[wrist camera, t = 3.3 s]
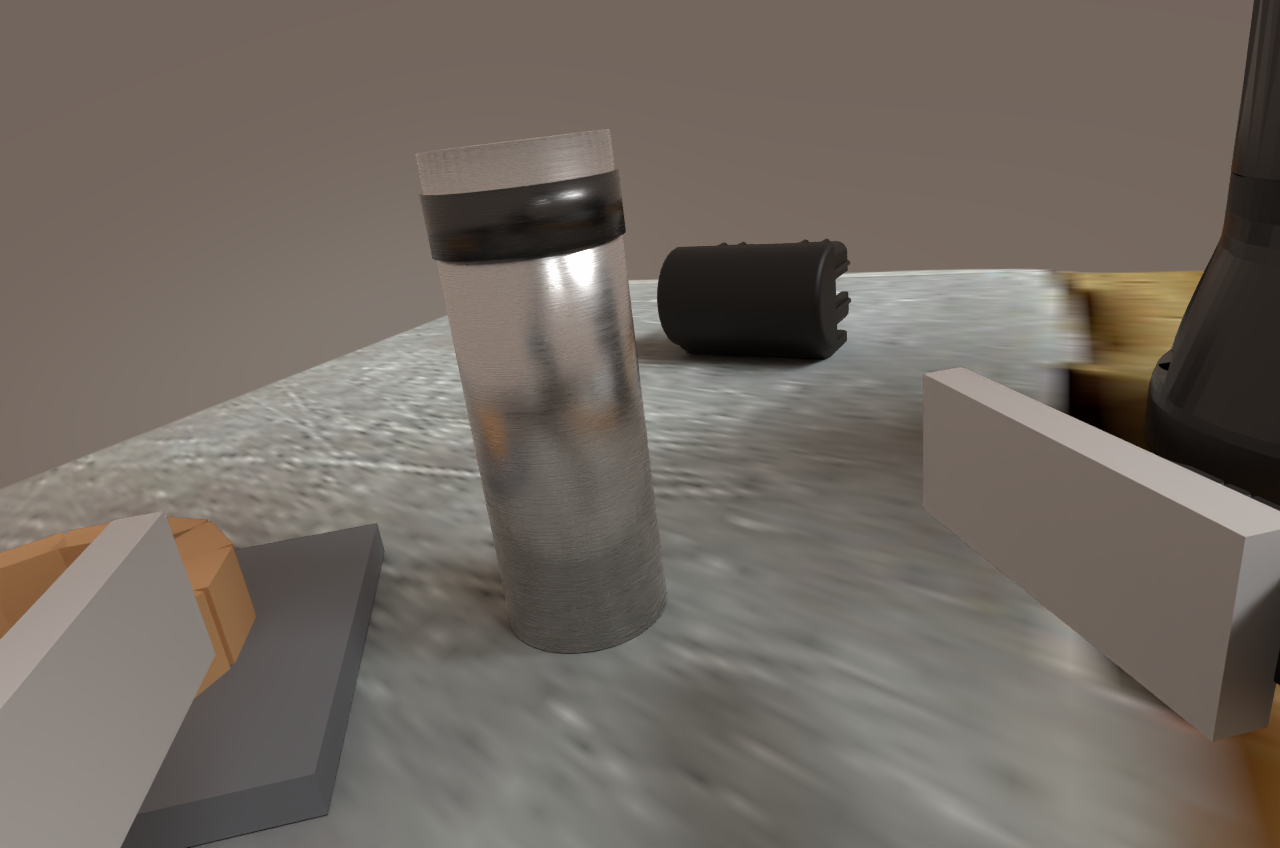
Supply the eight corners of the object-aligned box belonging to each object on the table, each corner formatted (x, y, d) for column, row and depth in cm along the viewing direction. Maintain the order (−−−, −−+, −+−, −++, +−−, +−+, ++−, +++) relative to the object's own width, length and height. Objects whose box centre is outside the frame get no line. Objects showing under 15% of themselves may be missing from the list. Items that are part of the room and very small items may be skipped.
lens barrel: (651, 550, 29) (598, 129, 24) (687, 633, 24) (630, 126, 19) (503, 579, 28) (417, 152, 23) (510, 671, 23) (402, 155, 18)
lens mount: (384, 551, 31) (361, 462, 30) (327, 814, 19) (284, 683, 17) (-79, 640, 29) (-126, 548, 27) (-482, 1004, 16) (-599, 869, 15)
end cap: (662, 367, 50) (650, 256, 47) (711, 336, 55) (702, 235, 53) (821, 375, 45) (816, 252, 42) (857, 340, 50) (854, 229, 48)
